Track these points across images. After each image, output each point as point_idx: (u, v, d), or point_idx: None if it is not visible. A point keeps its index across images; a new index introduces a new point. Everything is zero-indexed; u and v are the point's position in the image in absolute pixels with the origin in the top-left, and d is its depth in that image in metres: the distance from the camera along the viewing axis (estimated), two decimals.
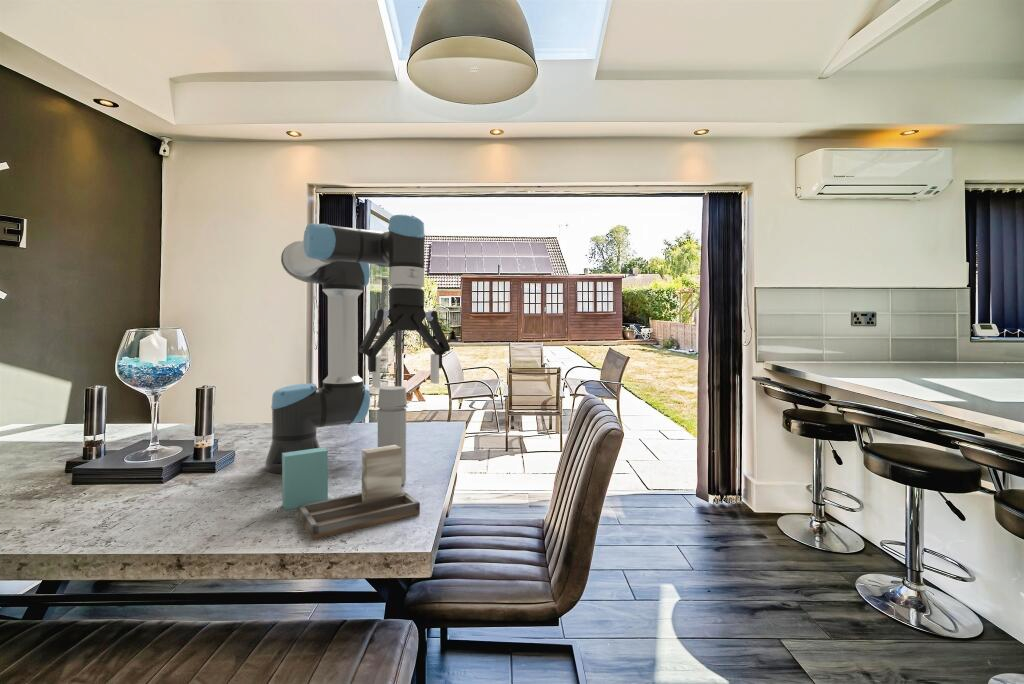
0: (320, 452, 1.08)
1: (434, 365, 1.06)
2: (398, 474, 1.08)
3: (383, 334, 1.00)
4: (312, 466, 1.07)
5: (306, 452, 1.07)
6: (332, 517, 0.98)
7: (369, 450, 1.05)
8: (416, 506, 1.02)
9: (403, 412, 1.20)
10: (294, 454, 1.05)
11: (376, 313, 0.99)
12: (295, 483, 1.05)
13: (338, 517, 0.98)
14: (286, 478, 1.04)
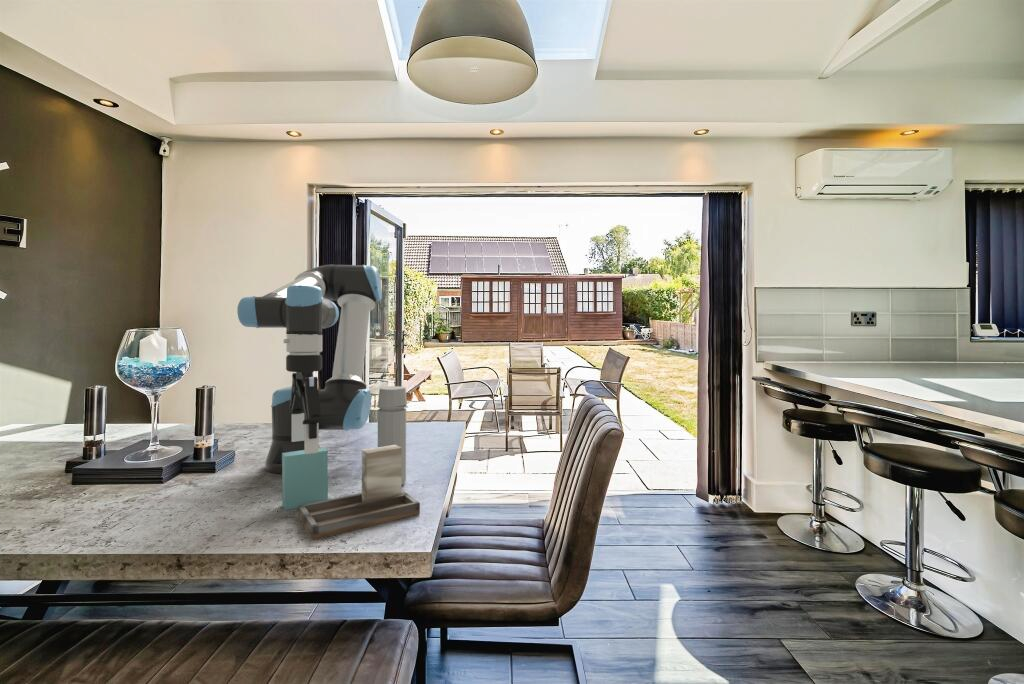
0: (320, 452, 1.08)
1: None
2: (398, 474, 1.08)
3: None
4: (312, 466, 1.07)
5: None
6: (332, 517, 0.98)
7: (369, 450, 1.05)
8: (416, 506, 1.02)
9: (403, 412, 1.20)
10: (294, 454, 1.05)
11: None
12: (295, 483, 1.05)
13: (338, 517, 0.98)
14: (286, 478, 1.04)
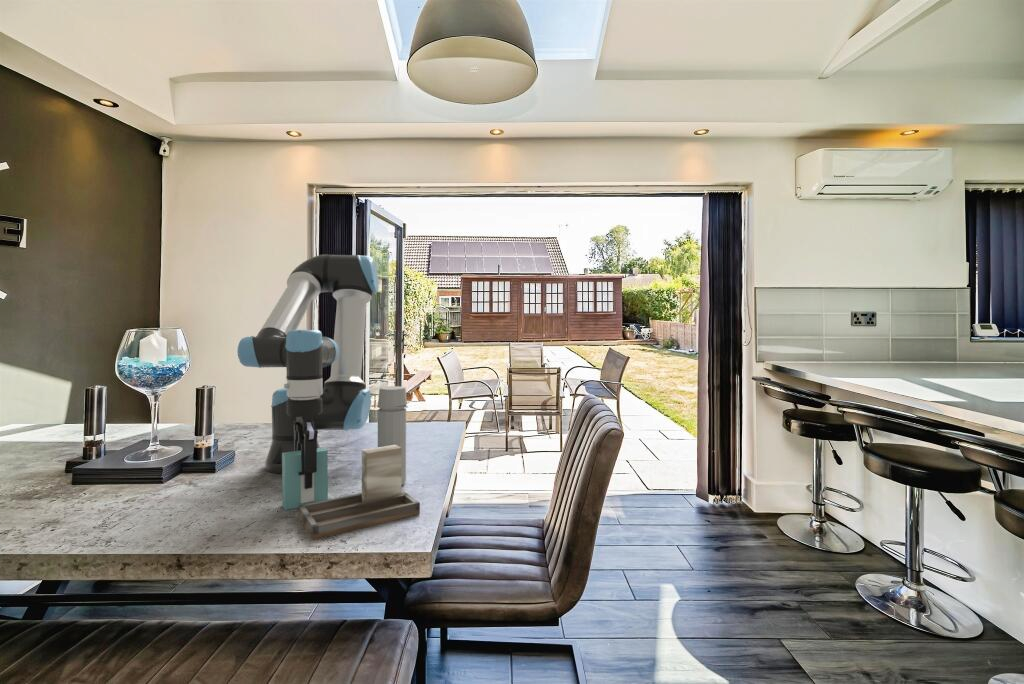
0: (320, 452, 1.08)
1: None
2: (398, 474, 1.08)
3: None
4: None
5: None
6: (332, 517, 0.98)
7: (369, 450, 1.05)
8: (416, 506, 1.02)
9: (403, 412, 1.20)
10: (294, 454, 1.05)
11: None
12: (295, 483, 1.05)
13: (338, 517, 0.98)
14: (286, 478, 1.04)
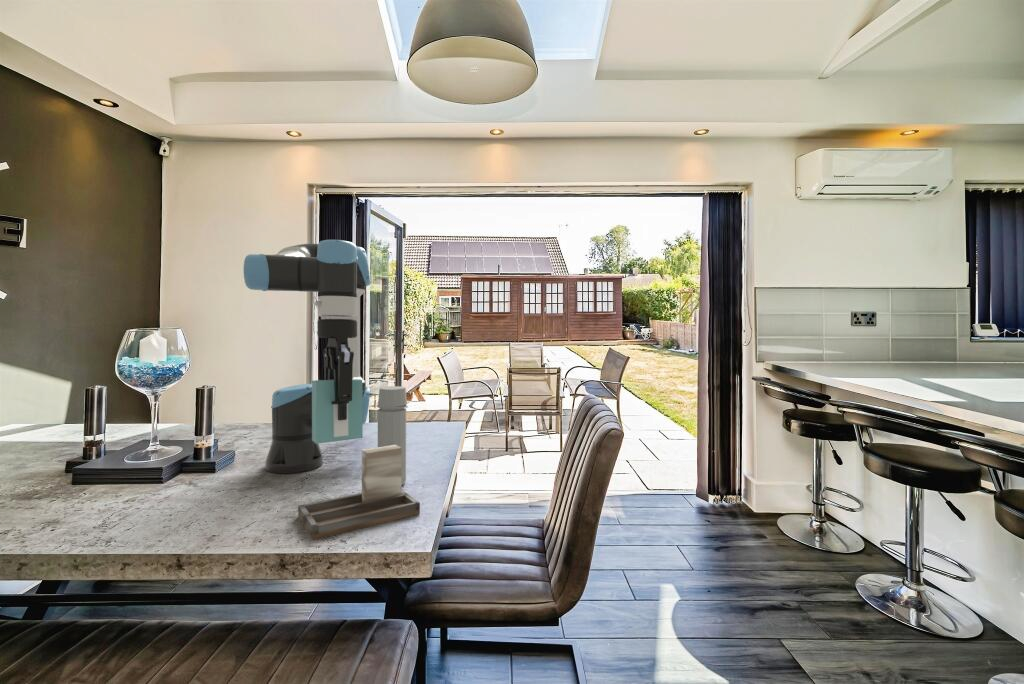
0: (354, 381, 0.95)
1: None
2: (398, 474, 1.08)
3: None
4: None
5: None
6: (332, 517, 0.98)
7: (369, 450, 1.05)
8: (416, 506, 1.02)
9: (403, 412, 1.20)
10: (326, 381, 0.93)
11: None
12: (327, 413, 0.93)
13: (338, 517, 0.98)
14: (317, 407, 0.91)
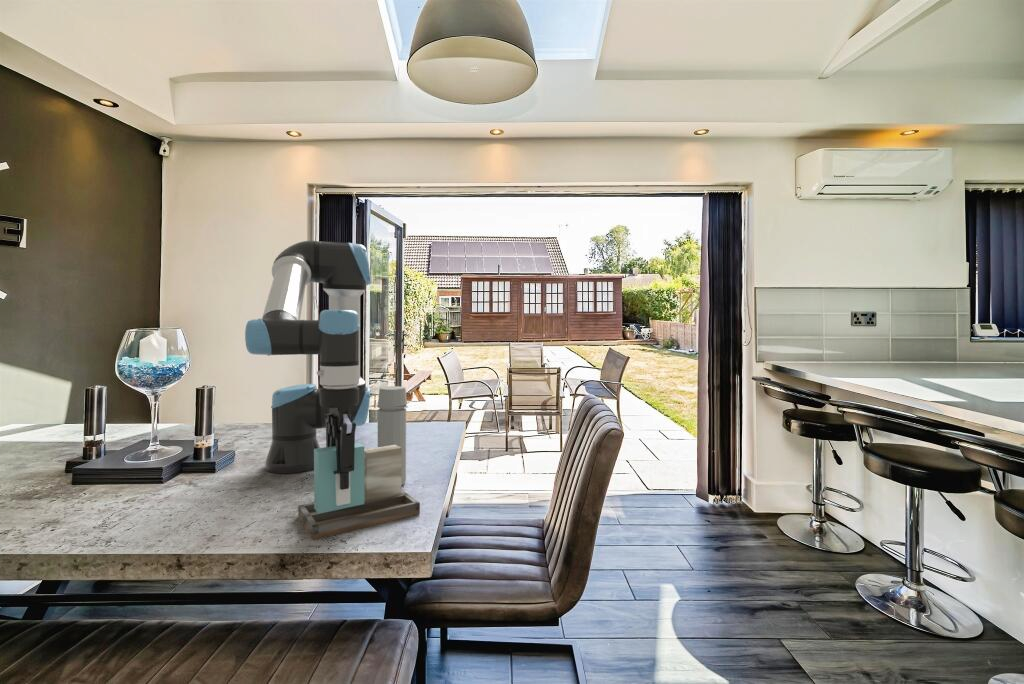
0: (356, 448, 0.96)
1: None
2: (398, 474, 1.08)
3: None
4: None
5: None
6: (332, 517, 0.98)
7: (369, 450, 1.05)
8: (416, 506, 1.02)
9: (403, 412, 1.20)
10: (328, 450, 0.93)
11: None
12: (329, 483, 0.93)
13: (338, 517, 0.98)
14: (319, 477, 0.92)
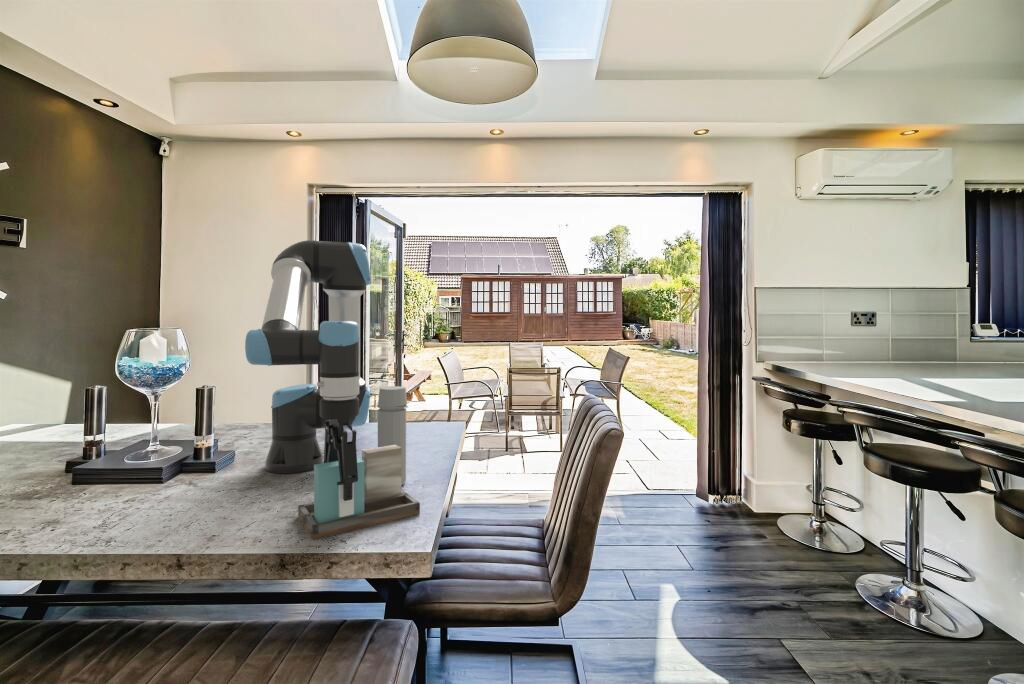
0: None
1: None
2: (398, 474, 1.08)
3: None
4: None
5: None
6: None
7: (369, 450, 1.05)
8: (416, 506, 1.02)
9: (403, 412, 1.20)
10: (328, 466, 0.93)
11: None
12: (329, 499, 0.93)
13: None
14: (319, 493, 0.92)
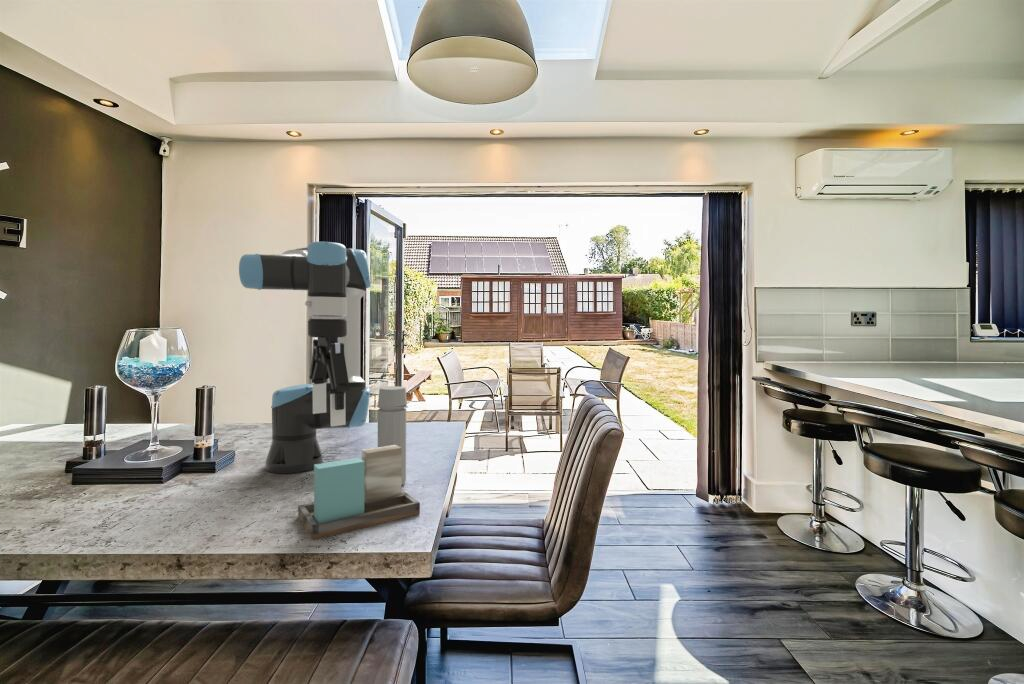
0: (356, 463, 0.96)
1: None
2: (398, 474, 1.08)
3: None
4: (347, 480, 0.95)
5: (340, 463, 0.95)
6: None
7: (369, 450, 1.05)
8: (416, 506, 1.02)
9: (403, 412, 1.20)
10: (328, 466, 0.93)
11: None
12: (329, 499, 0.93)
13: None
14: (319, 493, 0.92)
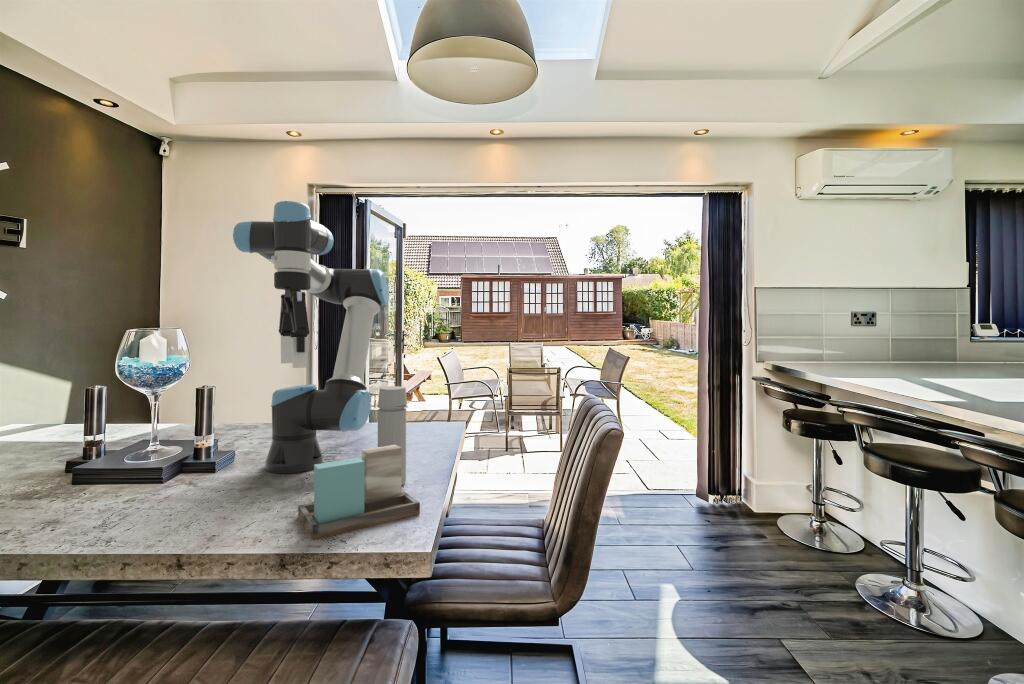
0: (356, 463, 0.96)
1: None
2: (398, 474, 1.08)
3: None
4: (347, 480, 0.95)
5: (340, 463, 0.95)
6: None
7: (369, 450, 1.05)
8: (416, 506, 1.02)
9: (403, 412, 1.20)
10: (328, 466, 0.93)
11: None
12: (329, 499, 0.93)
13: None
14: (319, 493, 0.92)
